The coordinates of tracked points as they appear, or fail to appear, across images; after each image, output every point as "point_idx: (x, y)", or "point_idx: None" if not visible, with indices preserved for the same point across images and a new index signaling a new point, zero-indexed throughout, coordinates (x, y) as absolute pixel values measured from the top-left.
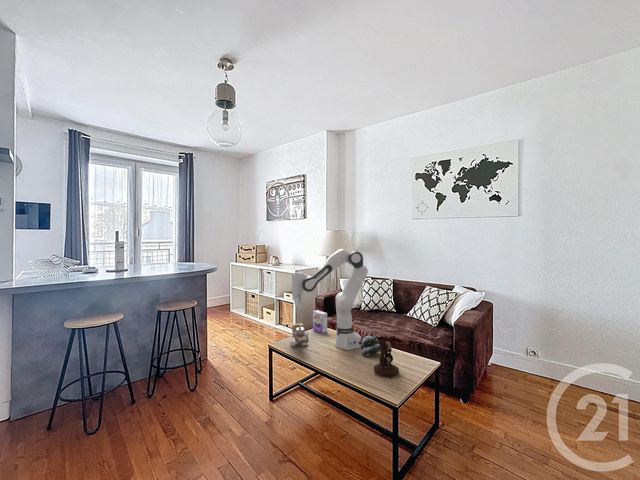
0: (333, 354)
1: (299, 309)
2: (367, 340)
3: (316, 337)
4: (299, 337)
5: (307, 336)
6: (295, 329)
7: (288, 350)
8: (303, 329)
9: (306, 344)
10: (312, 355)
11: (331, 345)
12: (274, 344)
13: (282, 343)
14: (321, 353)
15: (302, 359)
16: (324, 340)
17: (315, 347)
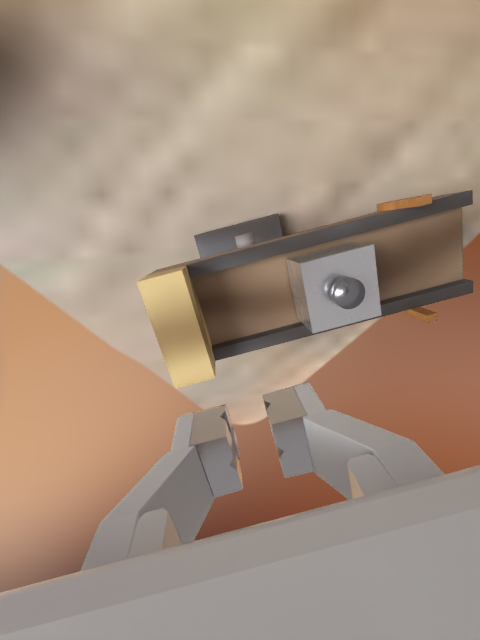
0: (432, 6)
1: (335, 418)
2: None
3: (76, 150)
4: (401, 278)
5: (432, 202)
6: (208, 336)
7: (327, 332)
8: (374, 249)
9: (273, 225)
10: (421, 176)
11: (256, 9)
12: (233, 421)
13: (216, 382)
14: (400, 109)
15: (464, 237)
16: (142, 73)
17: (291, 157)
